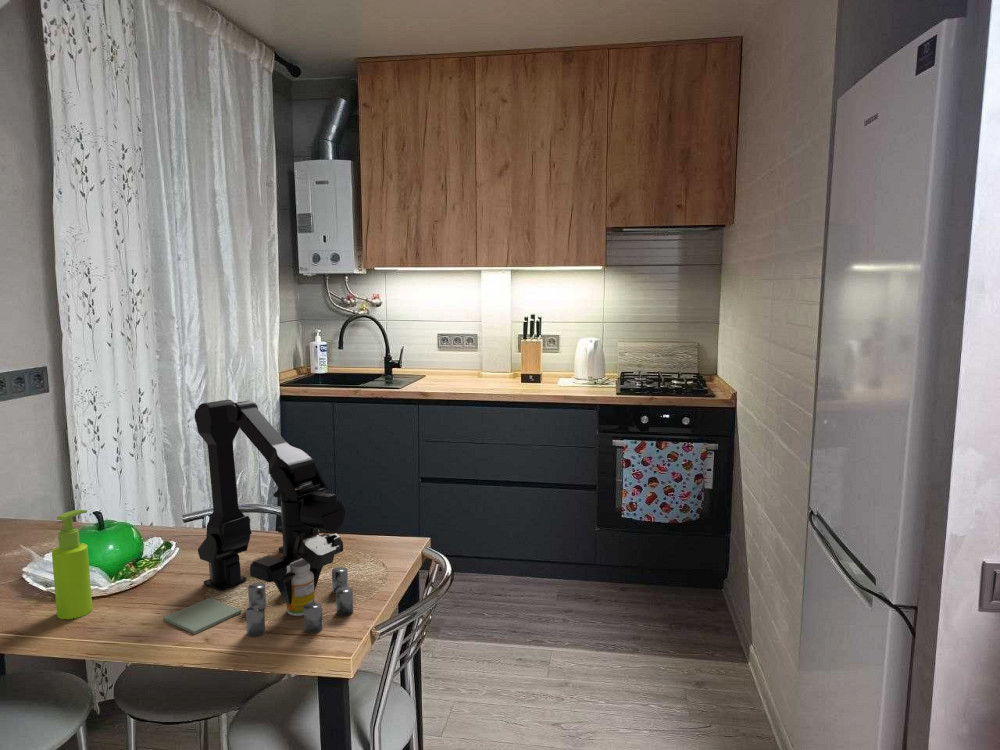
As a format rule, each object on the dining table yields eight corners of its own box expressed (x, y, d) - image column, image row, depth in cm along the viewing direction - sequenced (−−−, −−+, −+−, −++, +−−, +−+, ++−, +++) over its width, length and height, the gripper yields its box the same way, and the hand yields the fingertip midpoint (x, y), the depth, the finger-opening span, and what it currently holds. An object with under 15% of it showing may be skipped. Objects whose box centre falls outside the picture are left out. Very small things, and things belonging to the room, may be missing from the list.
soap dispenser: (103, 604, 136) (96, 508, 134) (75, 620, 129) (67, 519, 127) (78, 602, 137) (70, 506, 135) (49, 618, 131) (41, 517, 128)
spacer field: (216, 622, 129) (215, 600, 128) (314, 577, 149) (313, 558, 148) (284, 651, 118) (283, 626, 118) (379, 598, 138) (378, 577, 138)
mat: (163, 620, 130) (163, 617, 129) (210, 600, 138) (210, 597, 138) (194, 634, 124) (194, 631, 124) (241, 612, 132) (241, 609, 132)
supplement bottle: (285, 606, 135) (283, 559, 134) (313, 602, 137) (312, 556, 136) (287, 618, 130) (285, 570, 129) (316, 613, 132) (314, 566, 131)
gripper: (286, 544, 119) (290, 628, 121) (361, 515, 135) (363, 590, 137) (246, 532, 125) (250, 612, 127) (322, 506, 141) (325, 577, 143)
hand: (300, 598), depth 133 cm, fingers closed on supplement bottle, 5 cm apart
